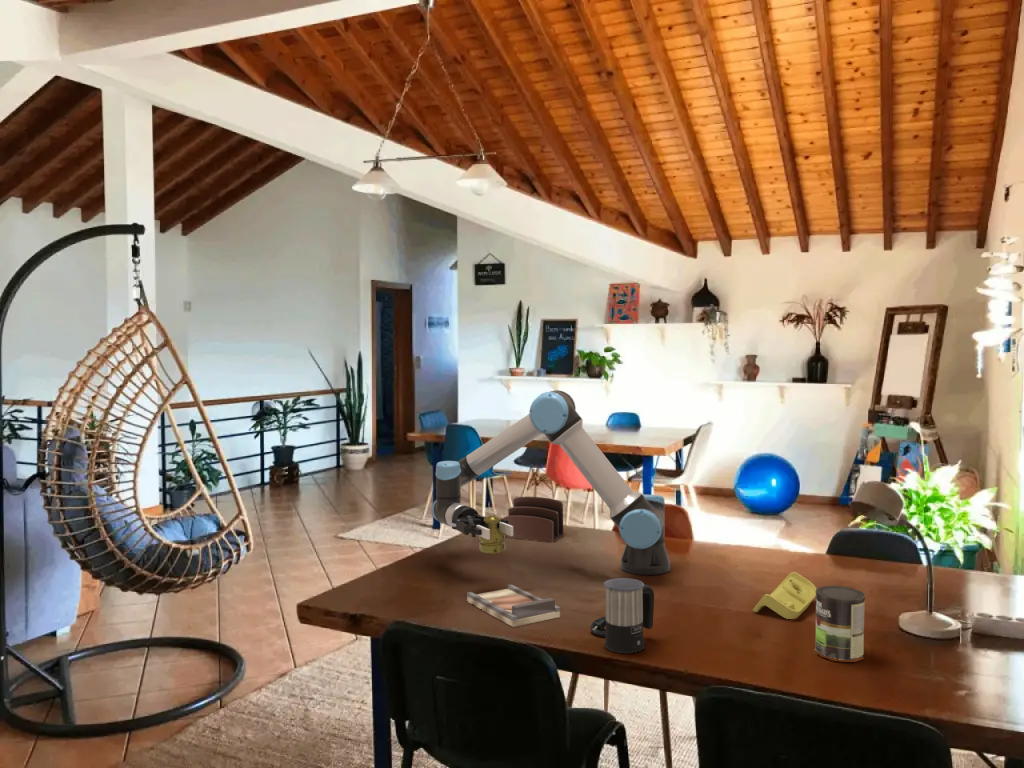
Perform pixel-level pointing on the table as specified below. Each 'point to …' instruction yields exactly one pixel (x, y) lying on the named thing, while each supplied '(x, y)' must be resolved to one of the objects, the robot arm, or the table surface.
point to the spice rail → (510, 593)
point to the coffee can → (840, 622)
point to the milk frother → (625, 615)
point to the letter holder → (536, 519)
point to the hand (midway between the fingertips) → (500, 532)
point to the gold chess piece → (493, 536)
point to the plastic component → (789, 597)
